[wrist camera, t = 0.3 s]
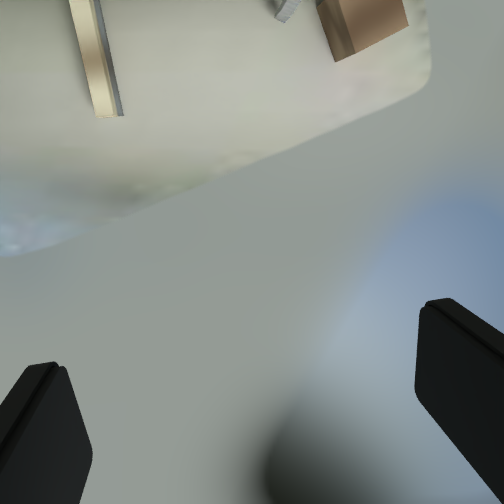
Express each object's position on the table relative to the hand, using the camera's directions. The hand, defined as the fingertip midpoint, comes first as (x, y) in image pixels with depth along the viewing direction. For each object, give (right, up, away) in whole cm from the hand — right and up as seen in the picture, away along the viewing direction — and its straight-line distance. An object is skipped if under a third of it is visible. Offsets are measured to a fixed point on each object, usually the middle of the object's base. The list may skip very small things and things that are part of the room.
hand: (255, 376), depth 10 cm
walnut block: (+9, +25, +25) cm, 37 cm away
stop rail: (-14, +21, +23) cm, 34 cm away
